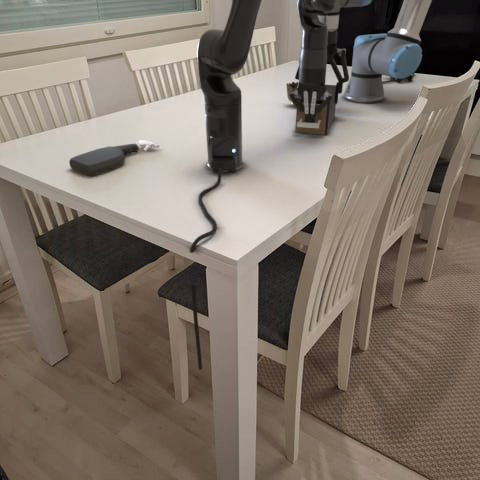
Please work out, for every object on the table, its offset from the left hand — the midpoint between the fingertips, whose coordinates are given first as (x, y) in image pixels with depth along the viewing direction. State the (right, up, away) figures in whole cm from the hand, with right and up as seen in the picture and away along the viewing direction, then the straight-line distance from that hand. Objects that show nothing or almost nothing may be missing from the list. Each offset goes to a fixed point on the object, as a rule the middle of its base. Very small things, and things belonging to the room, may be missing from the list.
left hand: (309, 125), depth 134 cm
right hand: (+6, +12, +17) cm, 22 cm away
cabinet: (+4, +4, +15) cm, 16 cm away
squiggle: (+51, +37, +66) cm, 92 cm away
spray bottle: (-55, -12, -9) cm, 57 cm away
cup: (0, +16, +34) cm, 37 cm away
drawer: (+3, +2, +9) cm, 10 cm away
